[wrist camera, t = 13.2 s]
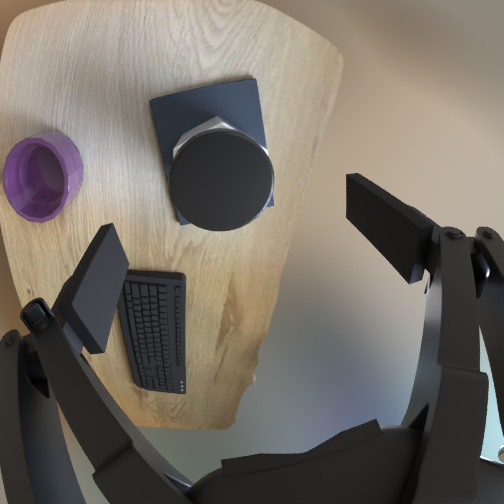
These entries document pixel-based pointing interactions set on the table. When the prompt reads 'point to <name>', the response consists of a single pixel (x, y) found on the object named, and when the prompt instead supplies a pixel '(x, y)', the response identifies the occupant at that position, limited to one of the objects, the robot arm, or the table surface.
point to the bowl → (42, 175)
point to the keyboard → (155, 329)
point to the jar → (220, 176)
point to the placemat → (207, 115)
